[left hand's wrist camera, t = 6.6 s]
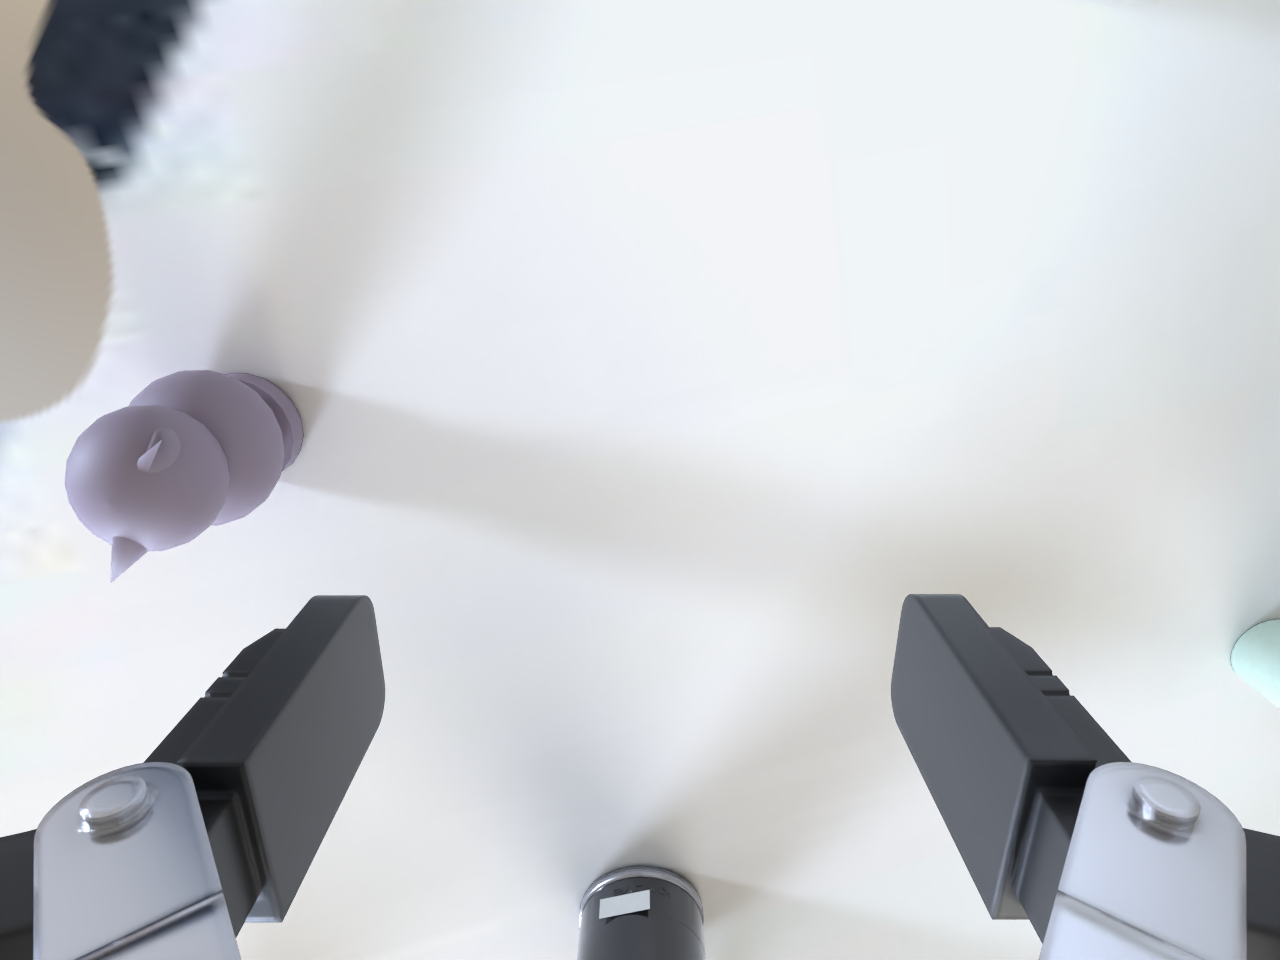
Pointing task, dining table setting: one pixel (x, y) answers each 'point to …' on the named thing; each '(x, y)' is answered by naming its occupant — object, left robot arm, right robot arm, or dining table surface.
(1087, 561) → the dining table surface
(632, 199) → the dining table surface
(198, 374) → the cat figurine
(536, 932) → the dining table surface
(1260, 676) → the bottle
